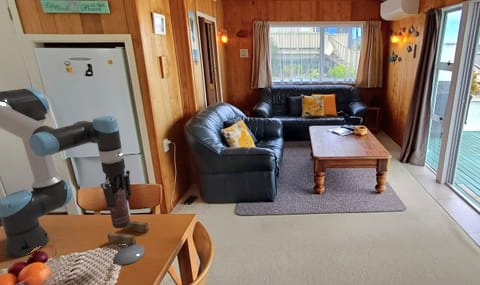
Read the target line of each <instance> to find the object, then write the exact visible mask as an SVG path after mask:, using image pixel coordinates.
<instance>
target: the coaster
mask: <svg viewBox="0 0 480 285" xmlns="http://www.w3.org/2000/svg"><path fill="white" fill-rule="evenodd" d="M145 253H146V250H145V248H144V246H142V245H140V244H136V245H130V246H127V245H126V246H124V247H123V248H120V249H119V250H118V251H117V253H115V256H114V259H115V262H116V263H117V262H118V263H120V264H119V265H122V266H123V265H124V266H125V265H131V264H133V263H136V262H138V261H139V260H142V258H143V257H144V255H145ZM118 263H117V264H118Z"/></svg>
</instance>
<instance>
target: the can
mask: <svg viewBox="0 0 480 285" xmlns="http://www.w3.org/2000/svg"><path fill="white" fill-rule="evenodd" d="M112 194H113V198H114V202H115V208H108V209H109V214H110V218H111V224H112V227H113V228H114V229H123V228H124V227H126V226H128V225H129V223H130V221H131V220H130V216H129V212H128V206H127V201H126V195H125V190H124V189H123V188H122V187H119V188H118V192H117V193H112Z"/></svg>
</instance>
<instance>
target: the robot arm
mask: <svg viewBox="0 0 480 285" xmlns="http://www.w3.org/2000/svg"><path fill="white" fill-rule="evenodd" d="M49 112H50V103H49V101H48V99H47V97H46V96H45V95H44V93H42V92H41V90H39V89H36V88H20V89H12V90H4V91H2V90H1V91H0V129H3V130H4V131H6V132H7V133H10V134H12V135H14V136H16V137H18V138H20V139H22V143H23V146H24V149H25V153H26V156H27V159H28V160H27V161H28V163H29V167H30V170H31V172H32V177H33V179H34V182H33V183H32V184H31V188H32V190H31V191H30V190H27V189H23V190H19V191H15V192H13V193H10V194H8V195H7V196H5V197H3V198H2V199H1V200H0V221H1V223H2V227H3V230H4V234H5V245H4V251H5V255H6V256H7V257H9V258H21V257H25V256H27V255H26V254H28V253H30V252H31V251H32V250H33V249H34V248H36V247H39V246H44V247H45V246H46V245H47V244H48V243H49V240H50V238H49V235H48V232H47V231H46V230H45V228H43V226H41V224H40V222H39V221H40V220H39V219H40V218H41V217H43V216H45V215H47V214H49V213H51V212H54V211H56V210H58V209H61V208H63V207H64V206H65V205H68V204H69V203H70V202H71V200H72V198H73V190H72V187H71V185H70V184H69V182H68V181H67V180H66V179H63V177H61V176H59V175H58V172H57V169H56V165H55V162H54V158H53V155H54V154H55V155H56V154H58V153H60V152H63V151H68V150H69V149H73V148H76V147H80V146H83V145H86V144H96V145H97V148H98V156H99V160H100V163H101V164H100V165H101V169H102V172H103V173H104V175H105V181H104V182H103V183H102V182H101V183H100V188H101V189H102V191H103V194H104V199H105V202H106V207H107V208H108V209H109V208H115V202H114V198H113V194H112V193H117V192H118V188H119V187H122V188H123V189H124V190H125V195H126V201H127V206H128V212H129V217H130V216H131V211H130V210H131V209H130V202H129V201H130V200H131V198H132V197H131V196H132V186H131V179H130V174H131V172H130V170H125V169H126V162H125V159H124V153H123V148H122V142H121V136H120V135H121V134H120V129H119V128H120V126H119V125H118V120H117V118H116V117H115V116H112V115H108V116H105V115H104V116H99V117H98V116H97V117H95V118H93V120H92V121H89V120H87V121H86V120H78V121H75V122H74V123H73V124H70V125H66V126H63V127H57V128H54V127H51V126H49V125H47V124H44V123H45V121H47V118H46V115H47V114H49ZM24 255H25V256H24ZM28 255H29V254H28Z"/></svg>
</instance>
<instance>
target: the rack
mask: <svg viewBox="0 0 480 285" xmlns="http://www.w3.org/2000/svg"><path fill="white" fill-rule="evenodd" d="M122 230H123V231H128V232H129V231H130V232H137V233H145V234H147V233H148V232H149V231H150V228H149V222H145V221H144V222H143V221H136V220H135V221H134V220H130V223H129V225H128V226H126V227H124V228H122ZM107 240H108V244H112V245H119V244H126V245H125V246H127V245H128V246H130V245H137V239H136V236H135V235H134V234H125V233H117V232H116V233H115V232H109V233H107Z"/></svg>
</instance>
